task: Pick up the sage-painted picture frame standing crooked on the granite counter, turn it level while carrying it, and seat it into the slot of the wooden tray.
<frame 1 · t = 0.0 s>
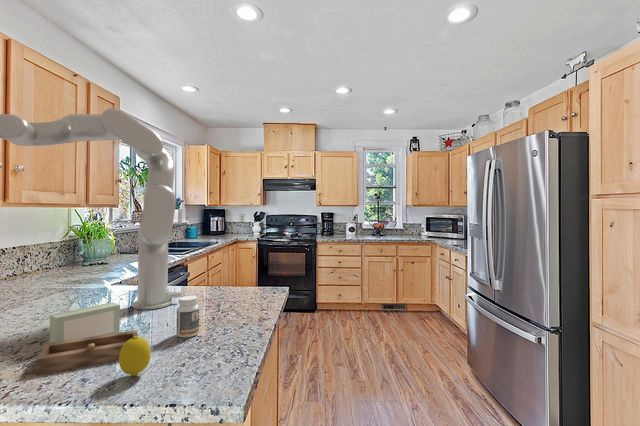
wooden tray: (92, 356, 74), on the table
frame: (86, 340, 83), on the table
pill bottle: (187, 335, 88), on the table
lemon: (134, 377, 65), on the table
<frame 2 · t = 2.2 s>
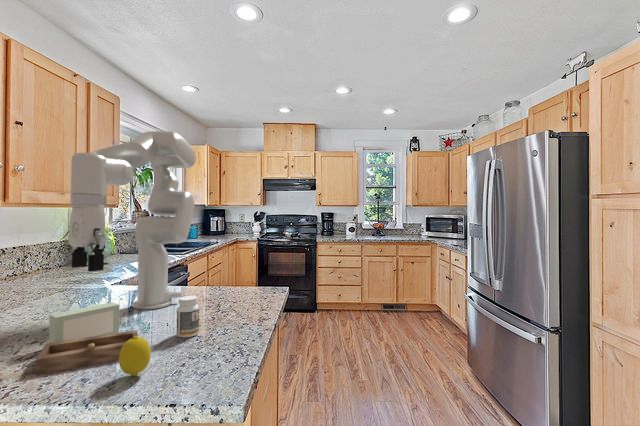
hand: (87, 268, 83), 18 cm above the table, fingers open, 9 cm apart
nothing on the table moved.
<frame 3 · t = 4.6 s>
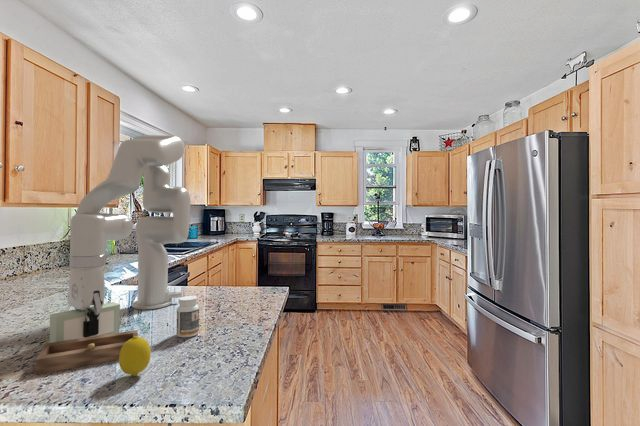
hand: (86, 333, 83), 2 cm above the table, fingers closed on frame, 4 cm apart
frame: (86, 340, 83), on the table, touching gripper
everything else where it was.
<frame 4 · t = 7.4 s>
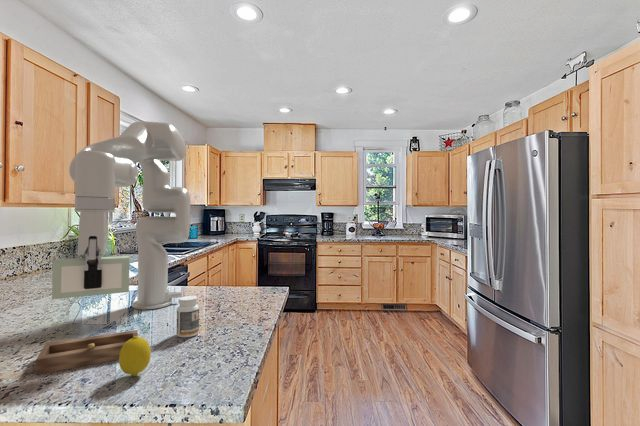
hand: (93, 285, 74), 16 cm above the table, fingers closed on frame, 4 cm apart
frame: (93, 293, 74), point 14 cm above the table, touching gripper
everything else where it was.
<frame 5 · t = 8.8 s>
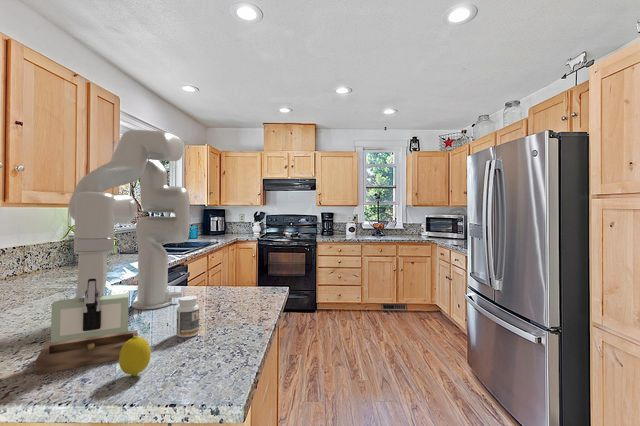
hand: (92, 325, 74), 7 cm above the table, fingers closed on frame, 4 cm apart
frame: (92, 334, 74), point 5 cm above the table, touching gripper
everything else where it was.
when the fingers open (5 cm above the table, at t = 10.0 s): frame drops 2 cm, resting on wooden tray.
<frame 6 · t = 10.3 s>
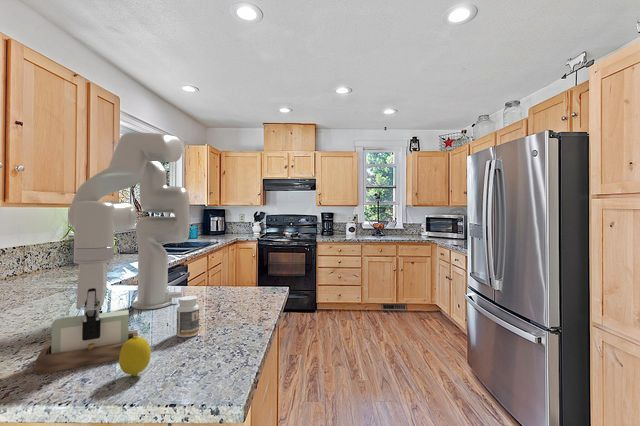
hand: (92, 333, 74), 5 cm above the table, fingers open, 6 cm apart
frame: (92, 351, 74), point 1 cm above the table, touching wooden tray
everything else where it was.
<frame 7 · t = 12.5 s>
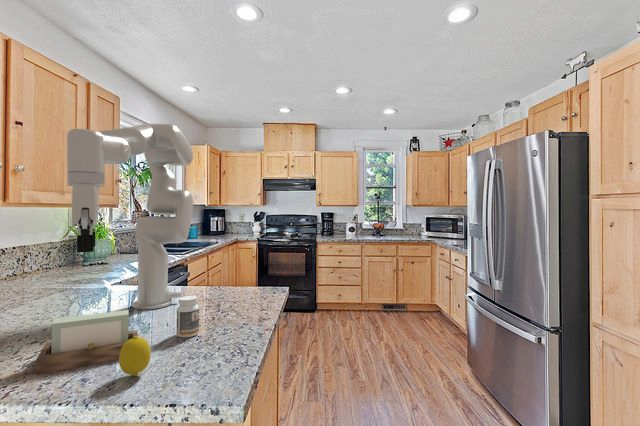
hand: (86, 249, 81), 24 cm above the table, fingers open, 9 cm apart
nothing on the table moved.
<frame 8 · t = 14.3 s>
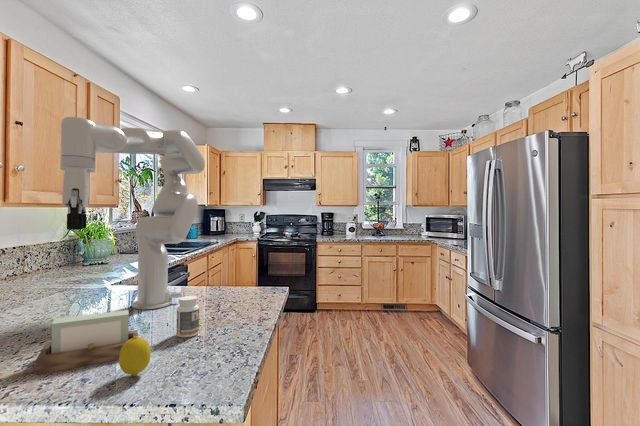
hand: (77, 228, 87), 28 cm above the table, fingers open, 9 cm apart
nothing on the table moved.
at the end: frame 0.2 cm off-centre on the wooden tray, point 1.0 cm above the wooden tray's base; frame tilted 0°; the gripper is holding nothing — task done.
